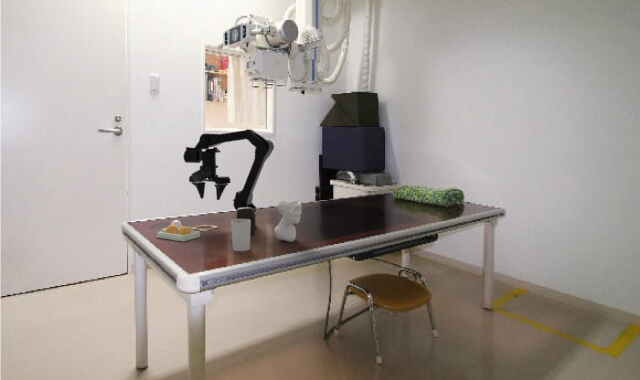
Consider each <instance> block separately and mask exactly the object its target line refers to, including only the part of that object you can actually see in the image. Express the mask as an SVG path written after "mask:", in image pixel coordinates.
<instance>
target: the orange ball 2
mask: <svg viewBox="0 0 640 380" xmlns="http://www.w3.org/2000/svg"><path fill="white" fill-rule="evenodd" d="M189 227H190V226H183V227H182V228H181V229H180V230H179V235H187V234H191V229H190V228H191V227H190V228H189Z"/></svg>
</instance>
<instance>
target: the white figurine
mask: <svg viewBox="0 0 640 380" xmlns="http://www.w3.org/2000/svg"><path fill="white" fill-rule="evenodd" d="M302 207H303V204H302V202H299V201H298V200H293V201H290V202H286V201H285V200H282V201H280V202H279V203H278V205H277V211H278V213H279V214H281V215H282V217H281V219H280V221H279V222H278V224H277V225H276V227H275V228H274V230H273V232H274V235H275V237H276V238H277V239H279V240H281V241H285V242H288V243H293V242H294V241H295V240H296V236H297V229H296V227H295V226H294V224H295V225H297V224H299V223H300V221H301V216H302V213H303V210H302Z"/></svg>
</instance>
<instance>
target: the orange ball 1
mask: <svg viewBox="0 0 640 380" xmlns="http://www.w3.org/2000/svg"><path fill="white" fill-rule="evenodd" d="M165 228H166V233H170V234H177V233H178V228H177V226H175V225H171V224H169V225H168V226H167V227H165Z"/></svg>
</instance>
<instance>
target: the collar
mask: <svg viewBox="0 0 640 380" xmlns="http://www.w3.org/2000/svg"><path fill="white" fill-rule="evenodd" d="M203 227H204V228H205V227H207V228H205V229H203ZM216 229H219V226H218V225H217V226H216V225H211V224H210V225H209V224H202V225H198V226H197V225H196V226H194V227H190V230H193V231H200V232H208V231H212V230H216Z"/></svg>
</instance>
